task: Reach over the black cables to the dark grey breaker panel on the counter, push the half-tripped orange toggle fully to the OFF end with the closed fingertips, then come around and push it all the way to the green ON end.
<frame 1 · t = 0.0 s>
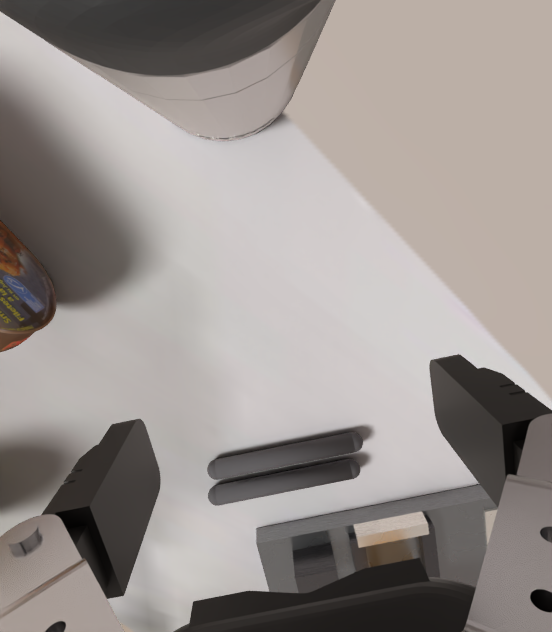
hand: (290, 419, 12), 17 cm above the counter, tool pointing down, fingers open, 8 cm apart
panel: (393, 576, 36), on the counter
pair of grey rods: (280, 462, 33), on the counter
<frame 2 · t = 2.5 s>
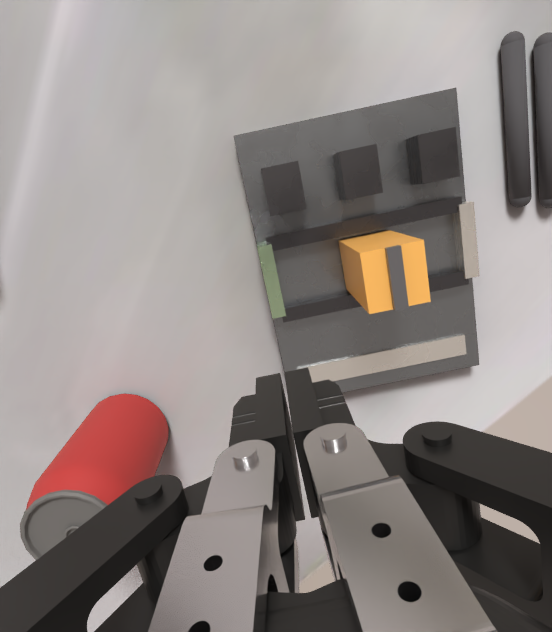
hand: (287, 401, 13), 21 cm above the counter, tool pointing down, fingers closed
beer can: (130, 425, 36), on the counter
toggle: (380, 268, 28), point 5 cm above the counter, slide at 4.0 cm
panel: (361, 256, 33), on the counter
pair of grey rods: (527, 121, 31), on the counter
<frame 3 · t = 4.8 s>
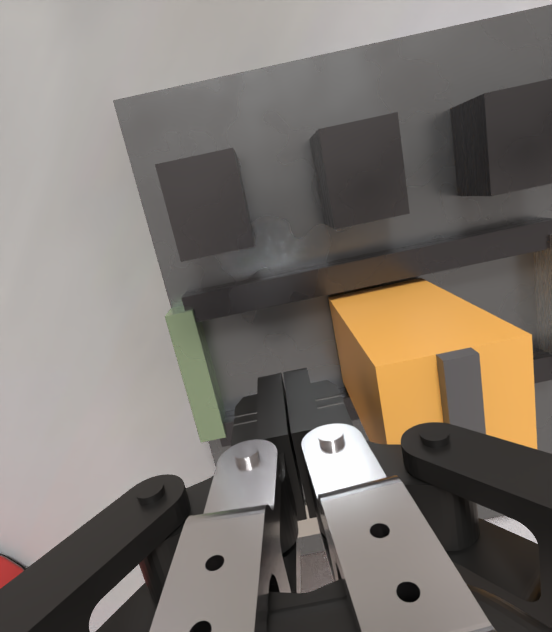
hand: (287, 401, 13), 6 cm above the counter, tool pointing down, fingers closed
toggle: (413, 367, 14), point 5 cm above the counter, slide at 3.7 cm, touching gripper
panel: (364, 320, 19), on the counter
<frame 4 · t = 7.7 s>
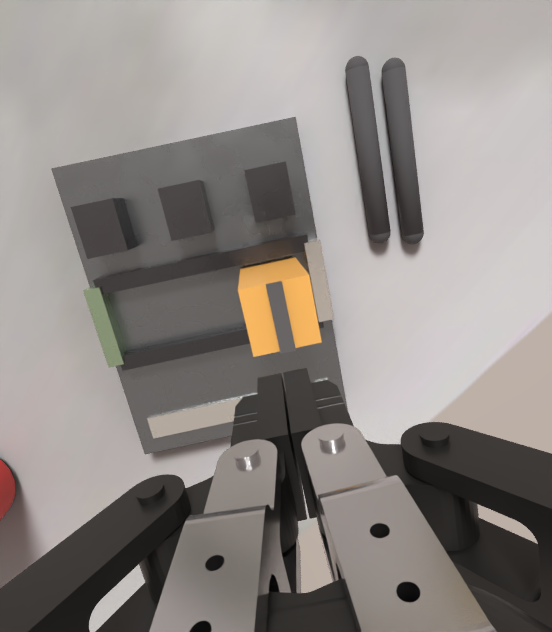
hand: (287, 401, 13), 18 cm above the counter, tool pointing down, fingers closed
toggle: (276, 301, 25), point 5 cm above the counter, slide at 0.0 cm
panel: (215, 296, 30), on the counter
pair of grey rods: (383, 152, 29), on the counter
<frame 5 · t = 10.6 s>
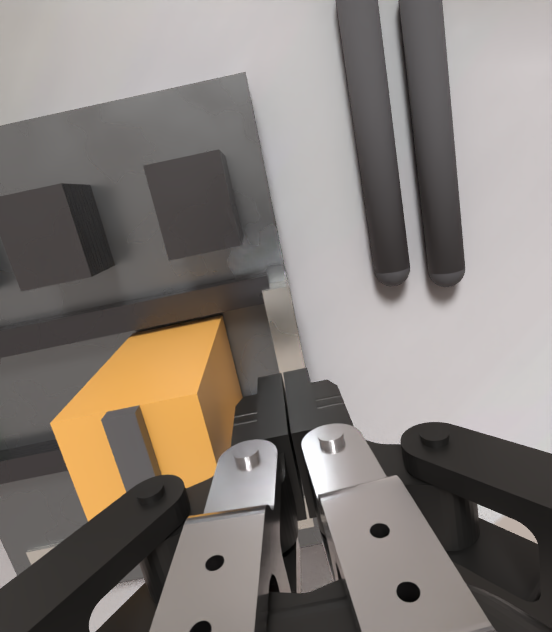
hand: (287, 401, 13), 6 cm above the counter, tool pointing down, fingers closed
toggle: (170, 409, 14), point 5 cm above the counter, slide at 1.1 cm, touching gripper
panel: (130, 364, 19), on the counter
pair of grey rods: (400, 135, 17), on the counter
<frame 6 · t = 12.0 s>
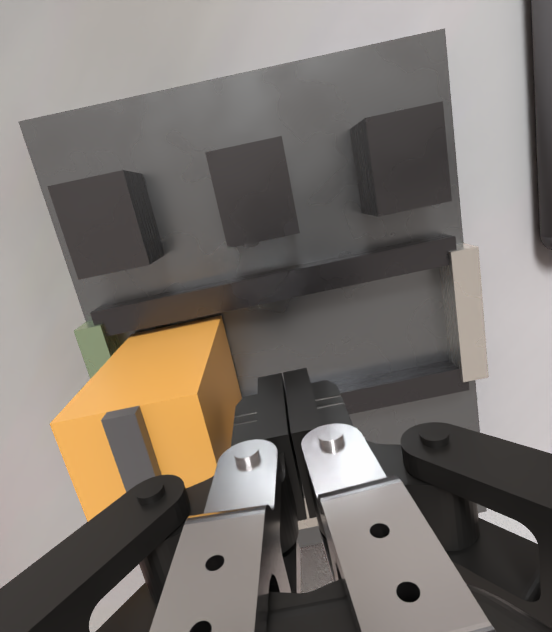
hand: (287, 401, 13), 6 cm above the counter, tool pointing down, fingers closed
toggle: (170, 409, 14), point 5 cm above the counter, slide at 8.0 cm, touching gripper
panel: (284, 333, 19), on the counter
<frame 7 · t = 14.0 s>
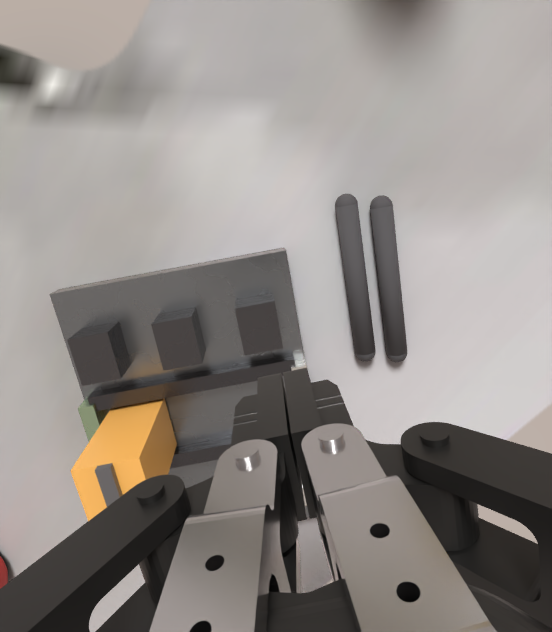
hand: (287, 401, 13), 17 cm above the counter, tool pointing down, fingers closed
toggle: (130, 457, 26), point 5 cm above the counter, slide at 8.0 cm
panel: (205, 403, 32), on the counter
pair of grey rods: (371, 276, 30), on the counter
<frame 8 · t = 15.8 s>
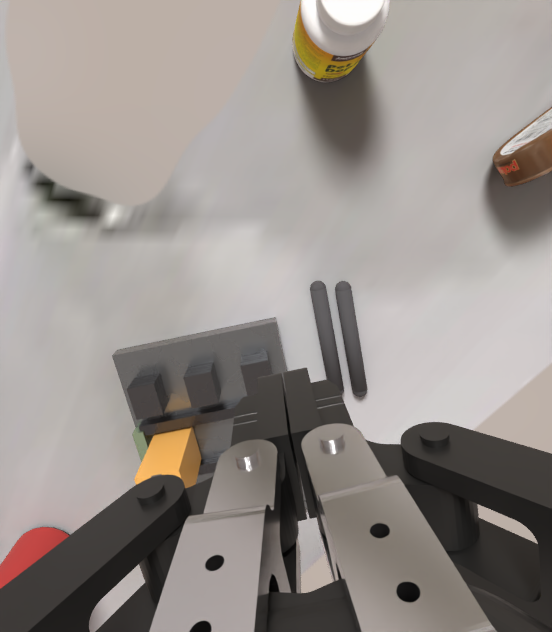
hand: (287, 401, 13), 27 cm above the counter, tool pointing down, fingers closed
beer can: (51, 547, 47), on the counter
supplement bottle: (326, 46, 35), on the counter
toggle: (170, 468, 38), point 5 cm above the counter, slide at 8.0 cm
panel: (221, 427, 43), on the counter
pair of grey rods: (338, 335, 41), on the counter
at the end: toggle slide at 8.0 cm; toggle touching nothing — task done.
